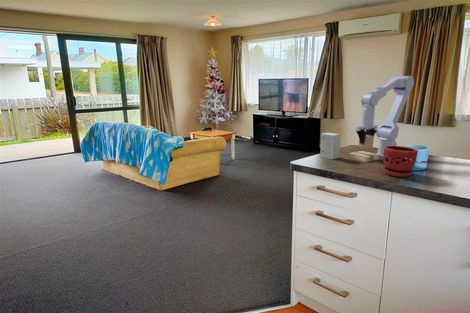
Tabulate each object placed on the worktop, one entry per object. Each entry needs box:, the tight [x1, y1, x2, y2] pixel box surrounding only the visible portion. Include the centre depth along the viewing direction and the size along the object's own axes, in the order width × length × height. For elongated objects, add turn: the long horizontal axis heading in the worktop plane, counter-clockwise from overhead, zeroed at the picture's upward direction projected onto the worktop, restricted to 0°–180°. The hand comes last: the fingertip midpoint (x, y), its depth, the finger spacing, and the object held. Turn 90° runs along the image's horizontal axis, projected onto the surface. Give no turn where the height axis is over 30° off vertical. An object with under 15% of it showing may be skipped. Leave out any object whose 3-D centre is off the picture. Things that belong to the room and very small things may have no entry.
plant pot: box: [382, 145, 419, 178], centre depth 137 cm, size 13×13×12 cm
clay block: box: [358, 134, 375, 149], centre depth 163 cm, size 5×5×6 cm
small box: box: [319, 132, 341, 160], centre depth 167 cm, size 8×6×13 cm
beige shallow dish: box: [347, 150, 381, 163], centre depth 166 cm, size 11×11×3 cm
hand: (365, 143), depth 164 cm, fingers closed on clay block, 5 cm apart
